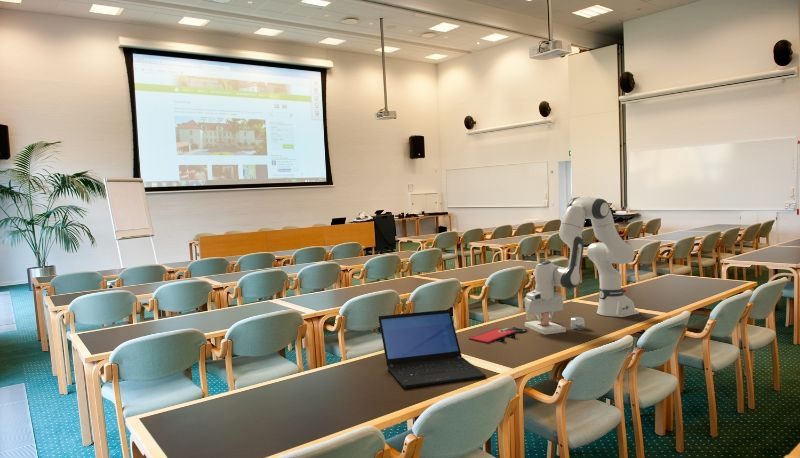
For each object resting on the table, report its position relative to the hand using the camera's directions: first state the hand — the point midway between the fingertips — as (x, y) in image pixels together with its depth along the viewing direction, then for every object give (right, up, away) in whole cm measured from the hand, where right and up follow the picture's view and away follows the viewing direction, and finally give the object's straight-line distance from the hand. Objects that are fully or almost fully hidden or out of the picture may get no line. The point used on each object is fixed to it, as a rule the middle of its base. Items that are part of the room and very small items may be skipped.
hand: (544, 320), depth 273 cm
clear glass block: (+16, -4, -1) cm, 17 cm away
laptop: (-60, -11, -52) cm, 80 cm away
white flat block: (0, -4, 0) cm, 4 cm away
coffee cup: (-1, -3, +19) cm, 19 cm away
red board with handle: (-24, -6, -9) cm, 26 cm away
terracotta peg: (0, -3, 0) cm, 3 cm away
